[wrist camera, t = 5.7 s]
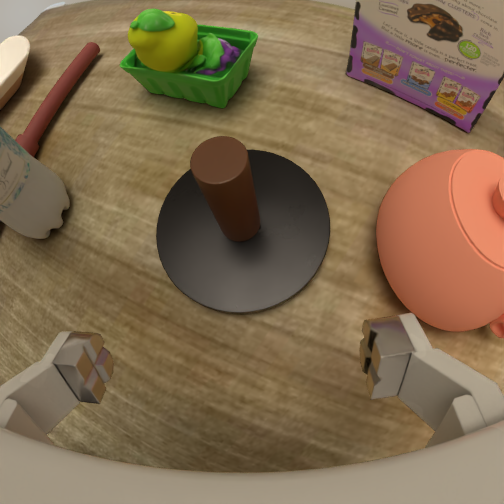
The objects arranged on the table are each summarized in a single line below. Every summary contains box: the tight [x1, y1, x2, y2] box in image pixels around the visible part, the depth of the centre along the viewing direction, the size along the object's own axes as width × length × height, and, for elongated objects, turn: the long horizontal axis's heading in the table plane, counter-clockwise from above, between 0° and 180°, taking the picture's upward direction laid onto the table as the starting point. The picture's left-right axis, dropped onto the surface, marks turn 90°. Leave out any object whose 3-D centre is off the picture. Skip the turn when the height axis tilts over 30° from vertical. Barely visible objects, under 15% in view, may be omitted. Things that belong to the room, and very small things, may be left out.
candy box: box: [346, 0, 504, 133], centre depth 19 cm, size 14×6×16 cm, turn 60°
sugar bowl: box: [376, 149, 504, 338], centre depth 16 cm, size 12×14×10 cm
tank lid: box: [156, 136, 330, 314], centre depth 19 cm, size 12×12×9 cm
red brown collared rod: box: [0, 42, 100, 221], centre depth 26 cm, size 45×3×3 cm, turn 165°
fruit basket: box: [120, 9, 258, 108], centre depth 23 cm, size 11×9×11 cm
